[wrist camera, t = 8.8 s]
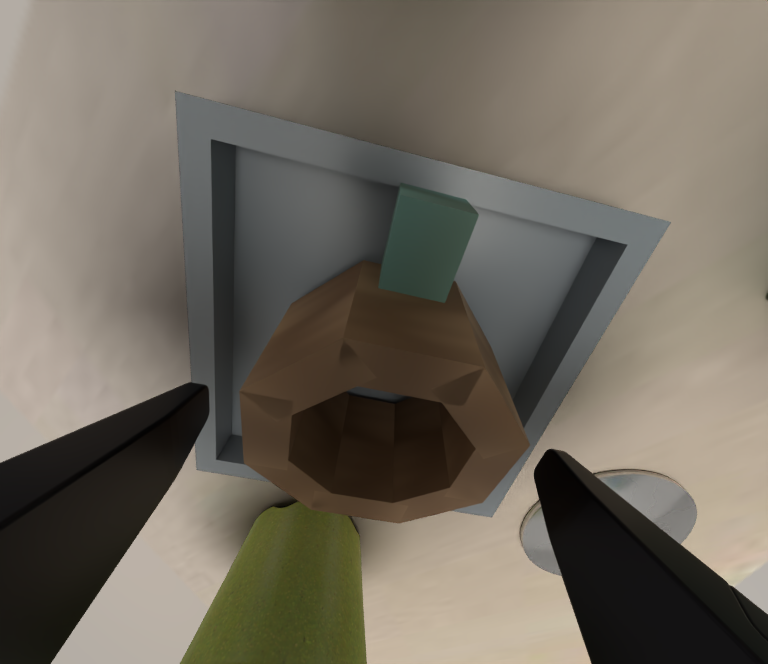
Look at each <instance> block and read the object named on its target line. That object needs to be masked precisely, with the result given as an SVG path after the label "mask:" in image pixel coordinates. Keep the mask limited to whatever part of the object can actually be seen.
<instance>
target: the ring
mask: <svg viewBox="0 0 768 664" xmlns="http://www.w3.org/2000/svg"><path fill="white" fill-rule="evenodd" d="M478 217H479V214H478V213H477V212H476V210H475V209H474V208H473V207H472V205H471V204H470V203H469V202H468V201H467V199H463V198H459V197H455V196H451V195H447V194H443V193H439V192H436V191H432V190H428V189H424V188H420V187H416V186H412V185H408V184H405V183H400V187H399V191H398V195H397V200H396V204H395V208H394V213H393V217H392V221H391V225H390V230H389V234H388V238H387V242H386V247H385V251H384V255H383V259H382V264H378V263H374V262H370V261H365V260H363V261H361V262H359V263H358V264H356V265H355V266H353V267H351V268H350V269H348V270H346V271H345V272H343V273H341V274H340V275H338V276H336V277H335V278H333V279H331V280H330V281H328V282H326V283H325V284H323V285H321V286H320V287H318V288H316V289H315V290H313V291H311V292H310V293H308V294H306V295H305V296H303V297H301V298H300V299H298V300H296V301H295V302H293V303H291V305H290V307H289V308H288V310H287V312H286V313H285V315H284V317H283V319H282V320H281V322H280V324H279V325H278V327H277V329H276V330H275V332H274V334H273V335H272V337H271V339H270V340H269V342H268V344H267V345H266V347H265V349H264V350H263V352H262V354H261V355H260V357H259V359H258V360H257V362H256V364H255V366H254V367H253V369H252V371H251V372H250V374H249V376H248V377H247V379H246V381H245V382H244V384H243V386H242V387H241V389H240V391H239V394H240V410H241V426H242V442H243V458H244V464H246V465H247V466H249V467H250V468H252V469H253V470H254V471H256V472H257V473H259V474H260V475H262V476H263V477H265V478H266V479H267V480H269V481H270V482H272V483H273V484H275V485H276V486H278V487H279V488H280V489H282V490H283V491H285V492H286V493H288V494H289V495H291V496H292V497H293V498H295V499H296V500H298V501H299V502H301V503H302V504H304V505H305V506H306V507H308V508H309V509H311V510H316V511H322V512H329V513H335V514H342V515H348V516H355V517H361V518H367V519H374V520H380V521H387V522H393V523H402V522H407V521H411V520H415V519H419V518H423V517H427V516H431V515H435V514H439V513H443V512H447V511H452V510H456V509H460V508H464V507H468V506H472V505H476V504H480V503H483V502H484V501H485V500H486V498H487V497H488V496H489V495H490V494H491V492H492V491H493V490H494V489H495V487H496V486H497V485H498V484H499V483H500V481H501V480H502V479H503V478H504V477H505V475H506V474H507V473H508V472H509V471H510V469H511V468H512V467H513V466H514V464H515V463H516V462H517V461H518V460H519V458H520V457H521V456H522V455H523V454H524V452H525V451H526V450H527V449H528V447H529V446H530V443H529V441H528V438H527V436H526V433H525V431H524V428H523V426H522V423H521V421H520V418H519V416H518V413H517V411H516V408H515V406H514V403H513V401H512V398H511V395H510V393H509V390H508V388H507V385H506V383H505V380H504V378H503V375H502V373H501V370H500V368H499V365H498V363H497V360H496V358H495V355H494V353H493V350H492V348H491V346H490V344H489V342H488V340H487V338H486V336H485V335H484V333H483V331H482V329H481V327H480V325H479V323H478V322H477V320H476V318H475V316H474V314H473V312H472V311H471V309H470V307H469V305H468V303H467V301H466V299H465V298H464V296H463V294H462V292H461V290H460V288H459V287H458V285H457V283H456V281H454V278H455V276H456V273H457V271H458V268H459V265H460V263H461V260H462V258H463V255H464V253H465V250H466V247H467V245H468V242H469V240H470V237H471V235H472V232H473V229H474V227H475V224H476V222H477V219H478ZM357 386H359V387H364V388H369V389H374V390H380V391H385V392H390V393H395V394H400V395H405V396H410V397H411V398H408V399H406V400H403V401H401V402H398V403H396V404H393V403H387V402H382V401H377V400H372V399H366V398H361V397H356V396H351V395H349V394H348V393H347V392H346V391H348V390H350V389H352V388H355V387H357Z"/></svg>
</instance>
